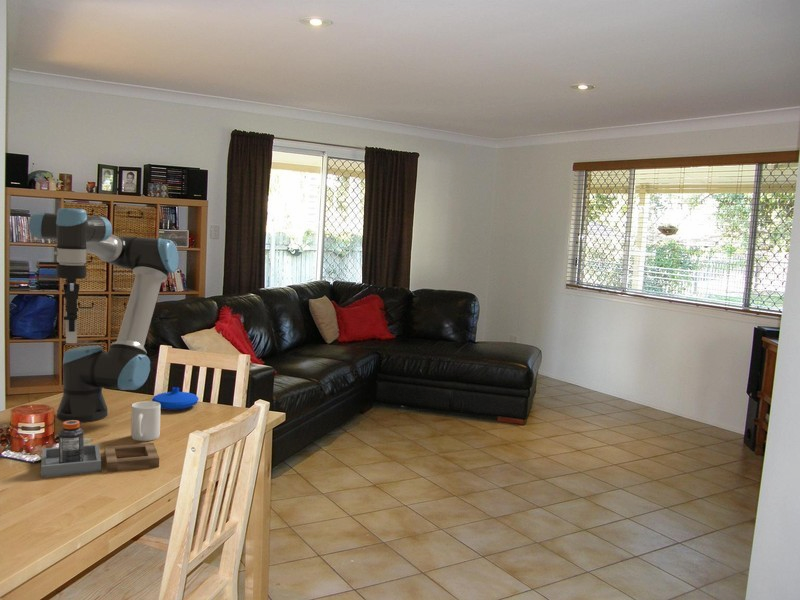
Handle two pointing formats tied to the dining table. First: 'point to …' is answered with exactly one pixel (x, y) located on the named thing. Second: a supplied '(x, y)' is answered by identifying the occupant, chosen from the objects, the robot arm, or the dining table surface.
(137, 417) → the mug
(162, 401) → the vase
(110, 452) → the socket frame
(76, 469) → the tray
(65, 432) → the pill bottle
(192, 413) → the dining table surface
